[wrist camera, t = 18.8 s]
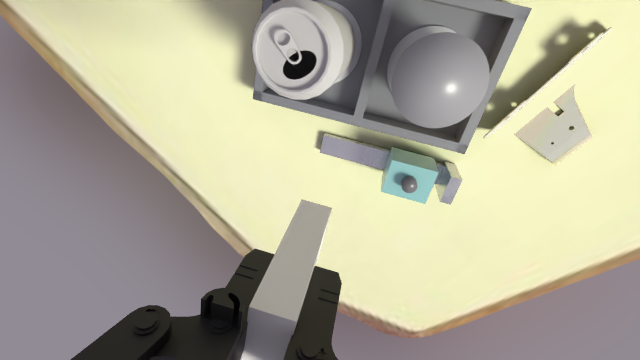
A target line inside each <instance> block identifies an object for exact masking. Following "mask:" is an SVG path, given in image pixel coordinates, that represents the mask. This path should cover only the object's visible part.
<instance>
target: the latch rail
mask: <svg viewBox="0 0 640 360" xmlns="http://www.w3.org/2000/svg"><path fill="white" fill-rule="evenodd" d="M390 151H391V150H388V149H385V148H381V147H377V146H373V145H369V144H366V143H362V142H358V141H354V140H351V139H347V138H343V137H339V136H335V135H332V134H328V133H325V134H324V136H323V141H322V145H321V150H320V153H323V154H327V155H331V156H335V157H338V158H342V159H346V160H349V161H353V162H357V163H360V164H364V165H368V166H372V167H375V168H379V169H383V170H384V169H385V166H386V163H387V160H388V157H389V154H390ZM435 163H436V166H437V169H438V172H439V173H438V175H437V178H436V180H435V182H434V184H435V186H436V189H437V193H438V197H439V200H440V202H443V203H447V204H451V203H452V201H453V198H454V196H455V194H456V192H457V190H458V188H459V186H460V184H461V182H462V178H461V176H460V174H459V172H458V169H457V167H456V165H455V164H454V163H450V162H446V161H445V162H444V164H441V163H437V162H435Z"/></svg>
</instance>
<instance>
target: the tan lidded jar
mask: <svg viewBox="0 0 640 360" xmlns="http://www.w3.org/2000/svg"><path fill="white" fill-rule="evenodd" d="M489 77H490V73H489V64H488V61H487V58H486V56H485V54H484V52H483V50H482V49H481V48H480V46H479V45H477V44H476V43H475V42H474V41H473V40H471V39H470V38H468V37H466V36H464V35H461V34H458V33H451V32H438V33H433V34H429V35H427V36H424V37H422V38H420V39H418V40H417V41H415V42H414V43H412V44H411V45H410V46H409V47H408V48H407V49H406V50H405V51H404V52H403V53H402V55H401V56H400V58H399V59H398V61H397V63H396V65H395V68H394V70H393V74H392V81H391V90H392V96H393V100H394V103H395V105H396V107H397V109H398V110H399V112H400V113H401V114H402V115H403V116H404V117H405V118H406V119H407V120H409V121H410V122H412V123H414V124H416V125H419V126H422V127H426V128H442V127H447V126H451V125H453V124H456V123H458V122H460V121H462V120H463V119H465V118H466V117H468V116H469V115H470V114H471V113H472V112H473V111H474V110H475V109H476V108H477V107H478V106H479V104H480V103H481V101H482V100H483V98H484V96H485V94H486V91H487V88H488V84H489Z"/></svg>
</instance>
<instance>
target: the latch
mask: <svg viewBox="0 0 640 360" xmlns="http://www.w3.org/2000/svg"><path fill="white" fill-rule="evenodd" d="M438 173H439V172H438V169H437V166H436V163H435V160H434V158H432V157H428V156H424V155H420V154H416V153H413V152H409V151H405V150H401V149H397V148H394V147H392V148H391V151H390V154H389V157H388V160H387V163H386V166H385V169H384V172H383V175H382V186H381V192H384V193H388V194H392V195H395V196H399V197H402V198H406V199H410V200H413V201H417V202H421V203H424V204H425V203H426V201H427V198H428V196H429V194H430V191H431V189H432V187H433V185H434V182H435V180H436V178H437V175H438Z"/></svg>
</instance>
